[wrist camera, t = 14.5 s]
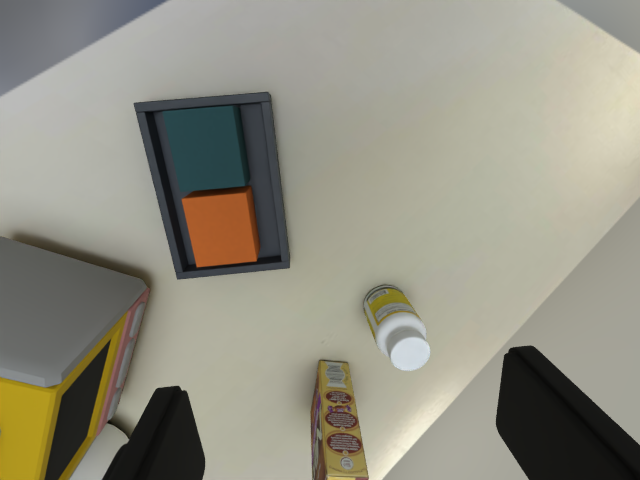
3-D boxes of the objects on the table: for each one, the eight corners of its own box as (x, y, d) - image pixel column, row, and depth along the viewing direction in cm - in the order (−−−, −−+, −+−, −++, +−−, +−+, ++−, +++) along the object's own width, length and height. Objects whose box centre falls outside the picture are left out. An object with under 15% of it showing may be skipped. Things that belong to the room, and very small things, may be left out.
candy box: (316, 359, 43) (326, 475, 29) (348, 361, 44) (374, 476, 30) (307, 411, 46) (313, 541, 32) (338, 413, 47) (357, 541, 32)
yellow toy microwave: (126, 400, 44) (14, 584, 26) (-8, 368, 41) (-235, 552, 23) (162, 271, 38) (51, 396, 21) (10, 224, 35) (-269, 323, 18)
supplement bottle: (396, 325, 43) (425, 381, 33) (357, 317, 42) (374, 372, 33) (412, 289, 41) (446, 337, 32) (371, 279, 40) (393, 326, 31)
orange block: (193, 190, 35) (181, 198, 31) (251, 185, 35) (245, 192, 31) (206, 252, 37) (196, 267, 33) (260, 247, 37) (256, 261, 33)
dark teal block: (177, 112, 32) (161, 111, 28) (239, 107, 32) (232, 105, 29) (192, 184, 34) (179, 192, 31) (250, 179, 35) (245, 186, 31)
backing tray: (145, 104, 32) (133, 102, 30) (270, 94, 33) (268, 91, 30) (184, 269, 38) (177, 279, 36) (290, 259, 39) (289, 268, 36)
